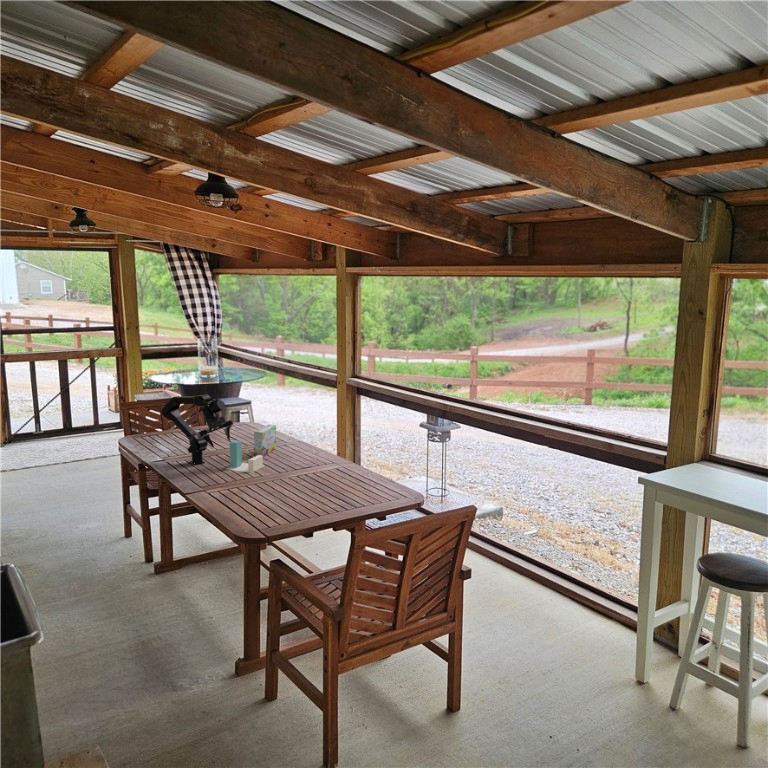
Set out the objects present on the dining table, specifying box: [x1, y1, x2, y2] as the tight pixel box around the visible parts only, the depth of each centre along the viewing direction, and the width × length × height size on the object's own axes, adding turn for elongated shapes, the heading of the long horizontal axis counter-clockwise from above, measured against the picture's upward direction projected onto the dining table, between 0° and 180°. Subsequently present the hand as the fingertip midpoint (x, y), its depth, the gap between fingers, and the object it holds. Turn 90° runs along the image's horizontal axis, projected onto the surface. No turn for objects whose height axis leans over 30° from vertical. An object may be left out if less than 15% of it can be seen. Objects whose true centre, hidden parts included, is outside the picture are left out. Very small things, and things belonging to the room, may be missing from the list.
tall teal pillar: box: [229, 439, 243, 467], centre depth 335 cm, size 4×5×13 cm
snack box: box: [253, 424, 277, 458], centre depth 366 cm, size 21×6×15 cm, turn 168°
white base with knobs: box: [225, 455, 265, 474], centre depth 334 cm, size 15×14×7 cm
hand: (221, 444), depth 335 cm, fingers open, 9 cm apart
